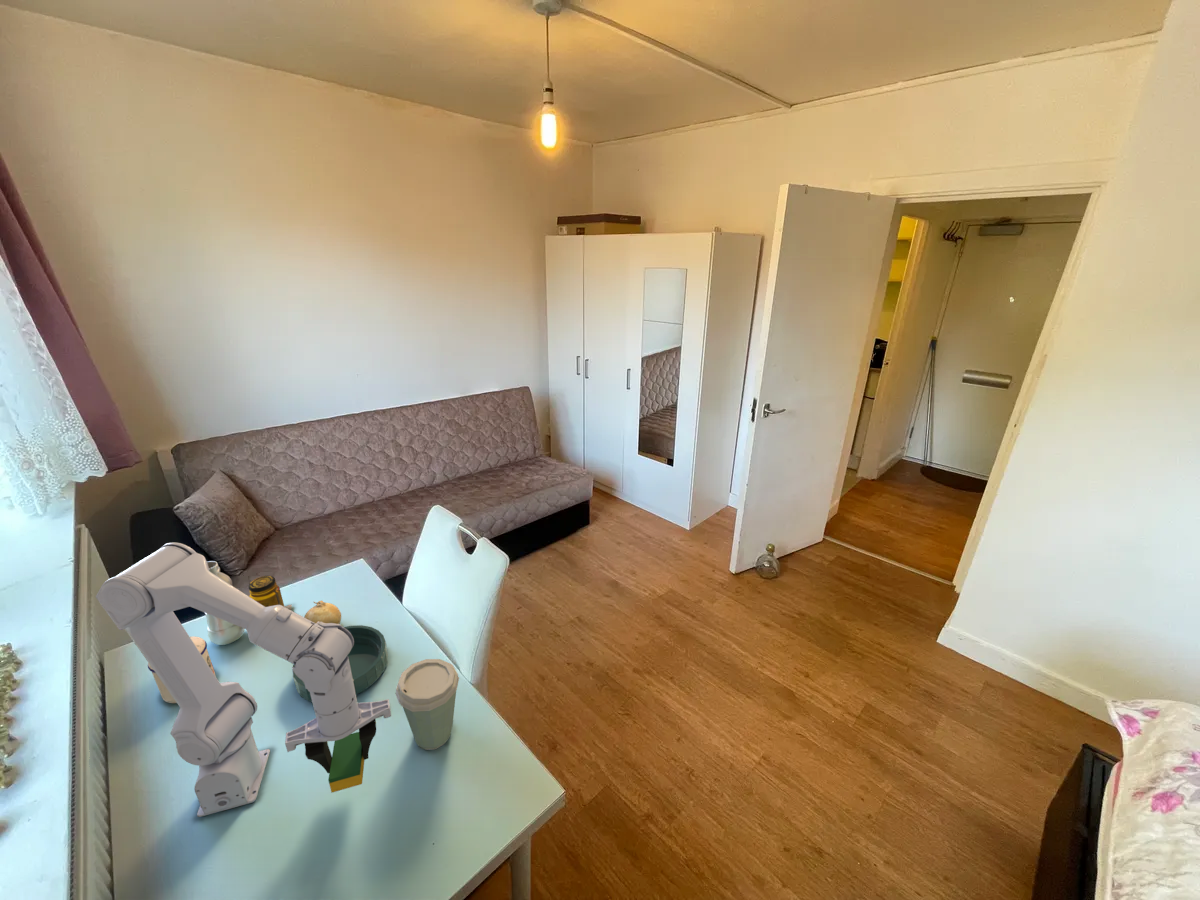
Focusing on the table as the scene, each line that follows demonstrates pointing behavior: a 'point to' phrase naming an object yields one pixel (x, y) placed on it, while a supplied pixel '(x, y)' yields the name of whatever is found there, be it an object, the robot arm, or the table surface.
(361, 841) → the table surface
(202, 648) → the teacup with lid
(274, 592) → the condiment
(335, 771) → the sponge
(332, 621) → the onion
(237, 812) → the table surface
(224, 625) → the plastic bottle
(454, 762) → the table surface
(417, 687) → the disposable coffee cup
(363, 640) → the bowl
